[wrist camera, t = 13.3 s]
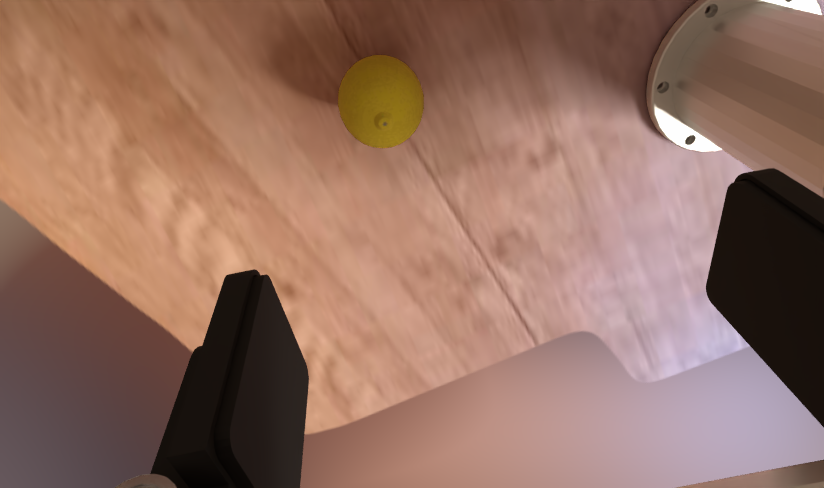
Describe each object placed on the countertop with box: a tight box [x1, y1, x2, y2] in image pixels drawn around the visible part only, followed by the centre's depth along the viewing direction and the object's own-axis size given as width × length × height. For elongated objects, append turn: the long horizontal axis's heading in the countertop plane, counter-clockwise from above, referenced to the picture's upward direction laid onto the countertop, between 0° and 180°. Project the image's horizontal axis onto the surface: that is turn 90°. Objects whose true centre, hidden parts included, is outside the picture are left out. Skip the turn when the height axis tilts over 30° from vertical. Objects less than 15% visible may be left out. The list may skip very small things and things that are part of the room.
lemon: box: [338, 55, 424, 148], centre depth 33 cm, size 6×6×8 cm
